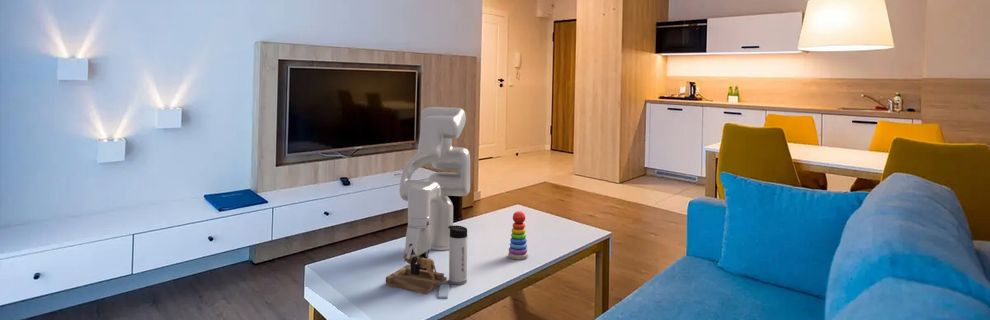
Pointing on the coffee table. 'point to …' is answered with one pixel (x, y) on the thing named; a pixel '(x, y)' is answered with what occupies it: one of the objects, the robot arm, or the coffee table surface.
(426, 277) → the cradle jig
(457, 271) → the travel mug
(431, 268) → the lion figurine
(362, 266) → the coffee table surface
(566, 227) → the coffee table surface
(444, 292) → the plank
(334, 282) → the coffee table surface
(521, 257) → the stacking toy
